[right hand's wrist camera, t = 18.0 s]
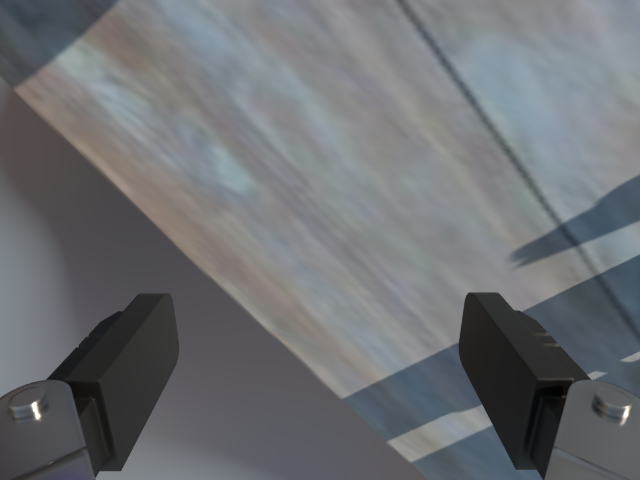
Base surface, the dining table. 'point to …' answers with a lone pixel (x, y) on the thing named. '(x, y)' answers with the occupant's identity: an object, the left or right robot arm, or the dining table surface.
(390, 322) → the dining table surface
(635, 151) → the dining table surface
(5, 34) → the dining table surface
